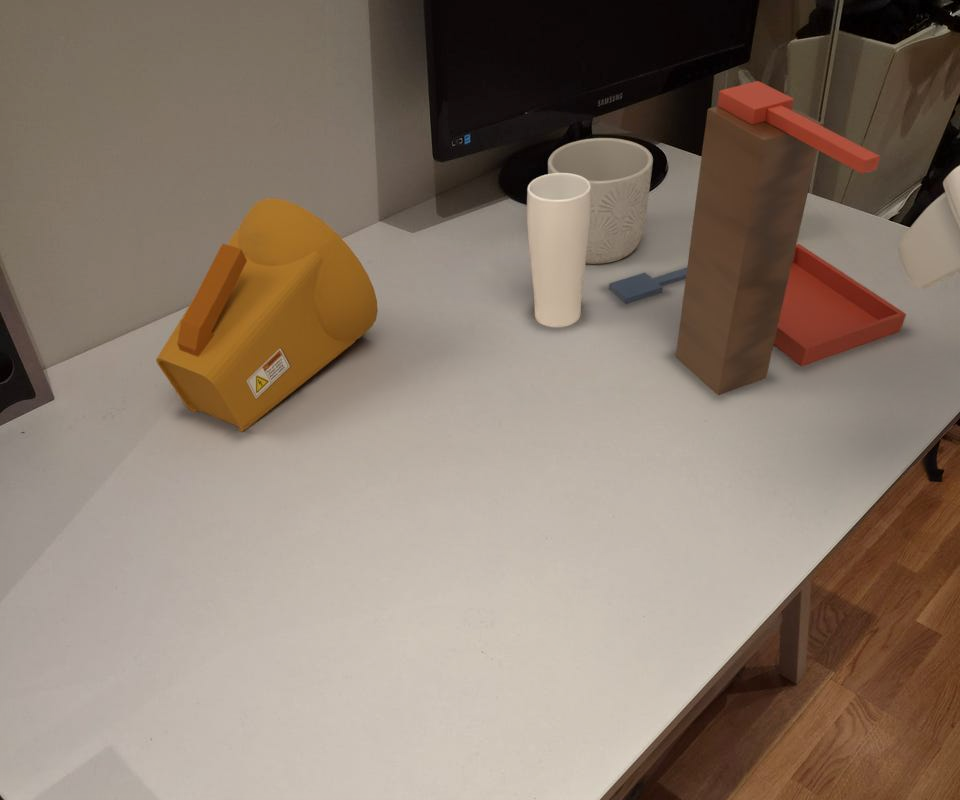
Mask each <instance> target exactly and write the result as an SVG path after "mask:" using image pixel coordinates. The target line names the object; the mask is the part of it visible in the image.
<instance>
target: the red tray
mask: <svg viewBox="0 0 960 800" xmlns="http://www.w3.org/2000/svg"><path fill="white" fill-rule="evenodd" d="M906 316H907V314H906V312H904V311H902V310H901V309H899V308H898V307H896V306H894V305H893V304H892V303H890V302H889V301H887V300H886V299H884V298H883V297H882V296H879V295H878V294H876V293H875V292H873V291H872V290H871V289H869V288H867V287H866V286H864V285H863V284H861V283H860V282H859V281H857V280H855V279H854V278H852V277H850V276H848V275H847V274H846V273H845V272H843V271H841V270H840V269H838V268H837V267H835V266H834V265H833V264H831V263H829V262H828V261H827V260H825V259H823V258H821V257H820V256H819V255H817V254H815V253H814V252H812V251H810V250H809V249H807V248H806V247H805V246H803V245H801V244H800V243H796V248H795V252H794V257H793V261H792V265H791V270H790V274H789V279H788V283H787V287H786V292H785V296H784V301H783V305H782V310H781V314H780V318H779V323H778V327H777V332H776V336H775V340H774V345H773V347H776V348H777V349H778V350H779V351H781V352H782V353H783V354H785V355H786V356H787V357H788V358H790V359H791V360H792V361H794V362H795V363H797V365H799V366H800V367H804V366H807V365H811V364H812V363H815V362H818V361H821V360H824V359H827V358H830V357H833V356H835V355H838V354H841V353H845V352H847V351H850V350H852V349H855V348H859V347H860V346H864V345H867V344H869V343H872V342H875V341H878V340H880V339H883V338H886V337H889V336H892V335H894V334H897V333H900V332H901V331H902V328H903V326H904V322H905V320H906Z"/></svg>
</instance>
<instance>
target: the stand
mask: <svg viewBox="0 0 960 800" xmlns="http://www.w3.org/2000/svg"><path fill="white" fill-rule="evenodd" d="M792 111H793V112H795V113H797V114H799V115H801V116H803V117H805V118H807V119H809V120H811V121H813V122H815V123H816V124H818V125H820V126H822V127H824V123H823V122H821V121H819V120H817V119H816V118H813V117H812V116H809V115H807V114H806V113H803V112H802V111H800V110H797V109H796V108H794V107H792ZM703 134H704V135H703V143H702V150H701V158H700V167H699V173H698V182H697V190H696V197H695V204H694V213H693V220H692V227H691V235H690V244H689V250H688V256H687V257H688V258H687V264H686V266H687V267H686V268H687V273H686V279H685V281H684V288H683V296H682V305H681V310H680V311H681V312H680V319H679V327H678V333H677V334H678V336H677V343H676V351H675V359H677V360H678V361H679V362H680V363H681V364H682V365H684V367H686V368H687V369H688V370H689V371H690V372H691V373H692V374H694V375H695V376H696V377H697V378H698V379H699V380H700V381H701V382H702V383H703V384H705V385H706V387H708V388H709V389H710V390H711V391H713V392H714V393H715V394H716V395H717V396H720V395H723V394H726V393H728V392H731V391H734V390H737V389H740V388H742V387H743V388H744V387H746V386H748V385H750V384H755V383H756V382H759V381H763V380H765V379H767V375H768V371H769V367H770V362H771V358H772V354H773V353H772V352H773V350H774V340H775V336H776V332H777V327H778V323H779V318H780V314H781V310H782V305H783V301H784V296H785V292H786V287H787V283H788V279H789V274H790V270H791V265H792V261H793V257H794V252H795V248H796V244H798V239H799V234H800V229H801V225H802V220H803V216H804V212H805V208H806V205H807V204H806V203H807V199H808V195H809V189H810V185H811V180H812V177H813V173H814V172H813V171H814V168H815V163H816V160H817V155H818V152H819V150H817V149H815V148H813V147H812V146H810V145H808V144H806V143H804V142H802V141H800V140H799V139H797V138H795V137H793V136H791V135H789V134H788V133H786V132H784V131H782V130H780V129H778V128H776V127H775V126H773V125H771V124H769V123H767V122H766V121H764V122H760V123H757V124H753V125H751V124H750V123H748V122H746V121H744V120H742V119H741V118H739V117H737V116H735V115H733V114H732V113H730V112H728V111H726V110H724V109H723V108H721V107H719V106H718V105H716V106H713V107H710V108H708V109H707V112H706V119H705V128H704V133H703Z"/></svg>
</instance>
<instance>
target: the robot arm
mask: <svg viewBox="0 0 960 800" xmlns="http://www.w3.org/2000/svg"><path fill="white" fill-rule="evenodd" d="M942 186H943V189H944V192H943V193H942V194H941V195H939V196H938V197H937V198H936V199H935V200H934V201H932V202H931V203H930V204H929V205H928V206H927V207H926V208H925V209H924V210H923V211H922V213H921V214H920V215H918V217H917V218H916V219H915V221H914V222H913V223H912V225H910V227H909V228H908V230H906V232H905V233H904V235H903V236H902V238H901V240H900V241H899V243H898V246H897V252H898V256H899V259H900V261H901V264H902V266H903V268H904V270H905V273H906V274H907V276H908V278H909V279H910V282H911V283H912V285H914V287H916V288H917V289H919V290H920V289H922V290H923V289H927V288H929V287H932V286H934V285H937V284H938V283H941V282H942V281H945V280H947V279H949V278H951V277H953V276H955V275H957V274H960V164H959V165H958V166H956V167H955V168H954V169H952V170H951V171H950V172H949V173H948V174H947V175H946V177H945V178H944V180H943V182H942Z"/></svg>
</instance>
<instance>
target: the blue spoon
mask: <svg viewBox="0 0 960 800" xmlns="http://www.w3.org/2000/svg"><path fill="white" fill-rule="evenodd" d="M686 273H687V267H685V268H681V269H678V270H675V271H672V272H668V273H665V274H662V275H658V276H655V277H651V276H650V275H649V274H647V273H646V272H642V273H639V274H635V275H633V276H629V277H626V278H623V279H619V280H616V281H613V282H610V283H609V284H608V285H609V286H608V290H610V291H611V293H612V294H614V295H615V296H616V297H617V298H618V299H620V300H621V301H622V302H623V303H624V304H626V305H627V304H631V303H634V302H637V301H640V300H644V299H646V298H649V297H650V298H651V297H653V296H656V295H659V294H663V289H664V286H667V285H669V284H673V283H676V282H679V281H682V280H684V279H685V280H686Z"/></svg>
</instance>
